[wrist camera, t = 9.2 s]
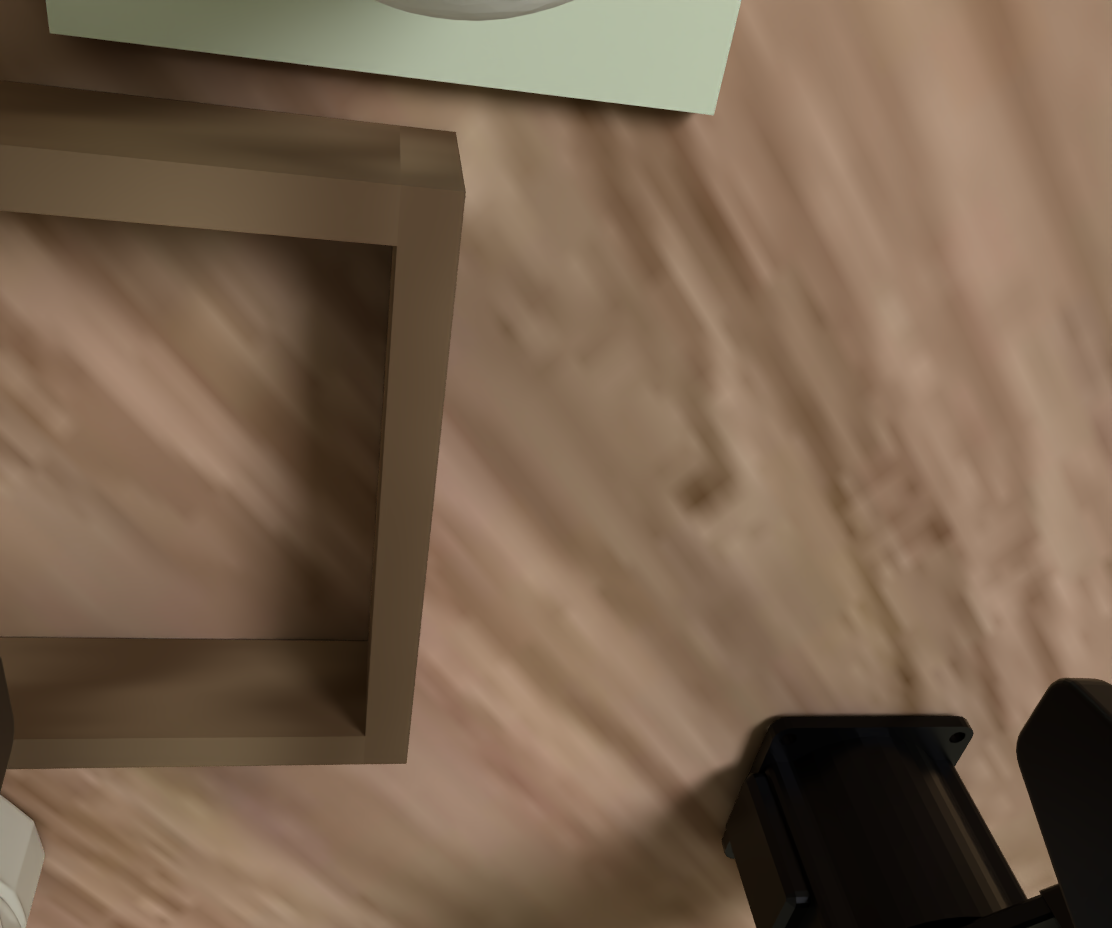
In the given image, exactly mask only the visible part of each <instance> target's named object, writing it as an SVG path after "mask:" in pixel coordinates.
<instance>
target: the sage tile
mask: <svg viewBox="0 0 1112 928" xmlns="http://www.w3.org/2000/svg"><path fill="white" fill-rule="evenodd" d="M740 4H741V0H574V1H571V2H568V3H565V4H563V5H560V6H557V7H554V8H551V9H547V10H543V11H540V12H536V13H532V14H528V15H523V16H518V17H513V18H508V19H497V20H485V21H467V20H450V19H442V18H435V17H429V16H423V15H418V14H413V13H409V12H405V11H402V10H399V9H395V8H393V7H390V6H387V5H385V4H382V3H380V2H377V1H374V0H46V8H47V15H48V23H49V31H50V33H53V34H61V35H69V36H77V37H85V38H93V39H101V40H109V41H117V42H126V43H134V44H142V45H150V46H158V47H166V48H174V49H182V50H190V51H198V52H206V53H215V54H223V55H231V56H239V57H247V58H255V59H263V60H271V61H279V62H287V63H295V64H304V65H312V66H320V67H328V68H336V69H344V70H352V71H360V72H368V73H376V74H384V75H393V76H401V77H409V78H417V79H425V80H433V81H441V82H449V83H457V84H465V85H473V86H482V87H490V88H498V89H506V90H514V91H522V92H530V93H538V94H546V95H554V96H562V97H571V98H579V99H587V100H595V101H603V102H611V103H619V104H627V105H635V106H643V107H651V108H660V109H668V110H676V111H684V112H692V113H700V114H708V115H714V112H715V107H716V103H717V99H718V95H719V91H720V87H721V83H722V78H723V74H724V70H725V66H726V62H727V58H728V53H729V49H730V45H731V41H732V37H733V33H734V28H735V24H736V20H737V16H738V12H739V8H740Z"/></svg>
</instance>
